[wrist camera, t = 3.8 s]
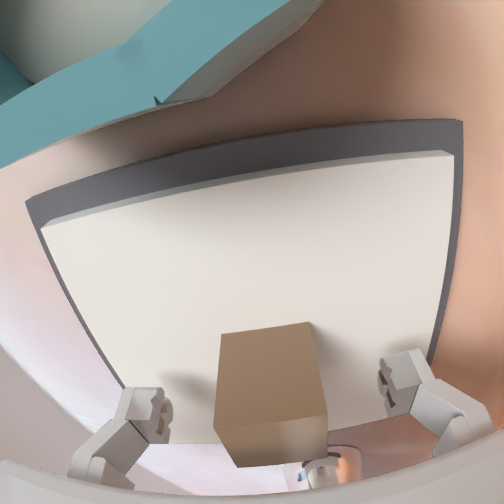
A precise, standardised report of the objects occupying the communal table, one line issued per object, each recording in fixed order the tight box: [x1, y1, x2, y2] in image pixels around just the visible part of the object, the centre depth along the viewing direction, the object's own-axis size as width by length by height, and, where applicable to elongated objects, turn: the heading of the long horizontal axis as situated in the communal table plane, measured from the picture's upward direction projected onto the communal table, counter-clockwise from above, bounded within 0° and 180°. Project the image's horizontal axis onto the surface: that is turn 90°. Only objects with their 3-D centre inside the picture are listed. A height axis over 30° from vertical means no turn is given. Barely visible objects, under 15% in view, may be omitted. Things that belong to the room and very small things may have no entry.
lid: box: [41, 150, 454, 468], centre depth 11 cm, size 14×14×5 cm
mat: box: [25, 119, 463, 389], centre depth 13 cm, size 16×16×1 cm
